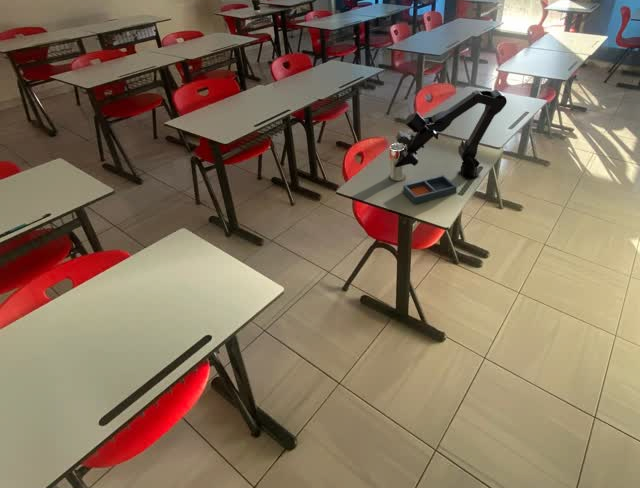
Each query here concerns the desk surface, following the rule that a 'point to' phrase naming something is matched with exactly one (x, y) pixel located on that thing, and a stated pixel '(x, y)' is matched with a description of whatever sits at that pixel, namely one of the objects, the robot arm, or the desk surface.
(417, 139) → the robot arm
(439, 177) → the divided tray
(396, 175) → the beer glass
